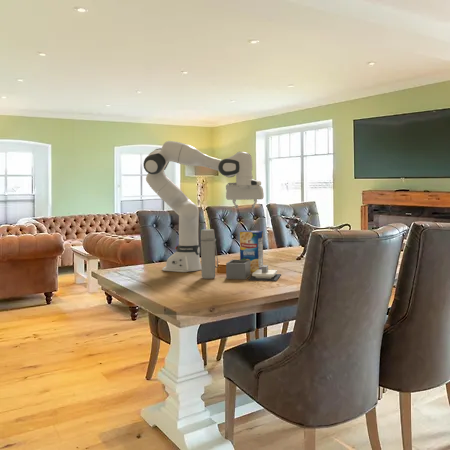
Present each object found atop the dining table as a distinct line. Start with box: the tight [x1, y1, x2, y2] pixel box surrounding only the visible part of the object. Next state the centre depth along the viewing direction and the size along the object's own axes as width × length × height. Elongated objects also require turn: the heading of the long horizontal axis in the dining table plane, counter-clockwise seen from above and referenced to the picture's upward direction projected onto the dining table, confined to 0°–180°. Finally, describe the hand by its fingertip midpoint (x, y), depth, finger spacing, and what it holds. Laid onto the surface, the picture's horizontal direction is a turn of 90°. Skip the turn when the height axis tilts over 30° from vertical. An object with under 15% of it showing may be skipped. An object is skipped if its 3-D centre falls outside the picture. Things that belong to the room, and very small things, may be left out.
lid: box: [251, 264, 278, 279], centre depth 241 cm, size 11×13×5 cm
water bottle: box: [200, 228, 219, 280], centre depth 243 cm, size 9×8×25 cm
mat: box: [247, 273, 282, 282], centre depth 241 cm, size 14×16×1 cm
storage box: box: [225, 259, 252, 280], centre depth 245 cm, size 10×12×8 cm
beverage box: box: [239, 230, 264, 273], centre depth 261 cm, size 7×11×22 cm, turn 64°
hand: (244, 208), depth 254 cm, fingers open, 8 cm apart
